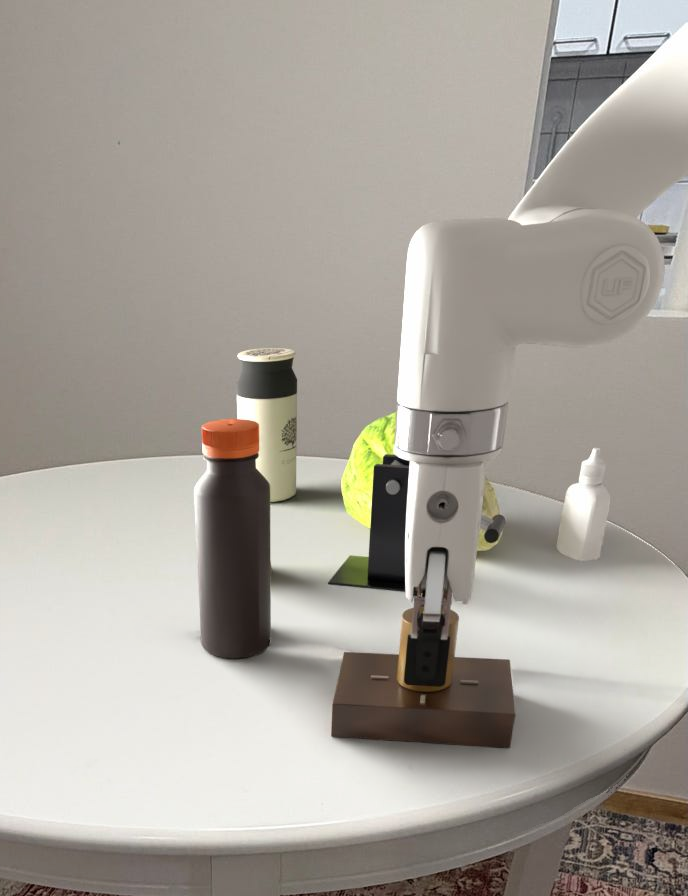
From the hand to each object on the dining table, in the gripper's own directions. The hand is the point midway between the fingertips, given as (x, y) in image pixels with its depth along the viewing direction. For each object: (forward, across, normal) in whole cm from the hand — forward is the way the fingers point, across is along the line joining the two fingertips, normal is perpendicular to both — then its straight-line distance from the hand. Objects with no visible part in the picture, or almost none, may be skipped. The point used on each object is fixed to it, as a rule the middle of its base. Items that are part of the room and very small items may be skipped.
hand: (425, 667), depth 77 cm
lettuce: (+4, +44, +1) cm, 44 cm away
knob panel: (+4, 0, 0) cm, 4 cm away
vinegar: (+4, +12, +18) cm, 22 cm away
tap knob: (+1, 0, 0) cm, 1 cm away
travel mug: (+4, +63, +23) cm, 67 cm away
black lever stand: (+4, +30, +4) cm, 31 cm away
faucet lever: (-4, +29, 0) cm, 29 cm away
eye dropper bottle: (+4, +39, -16) cm, 42 cm away
